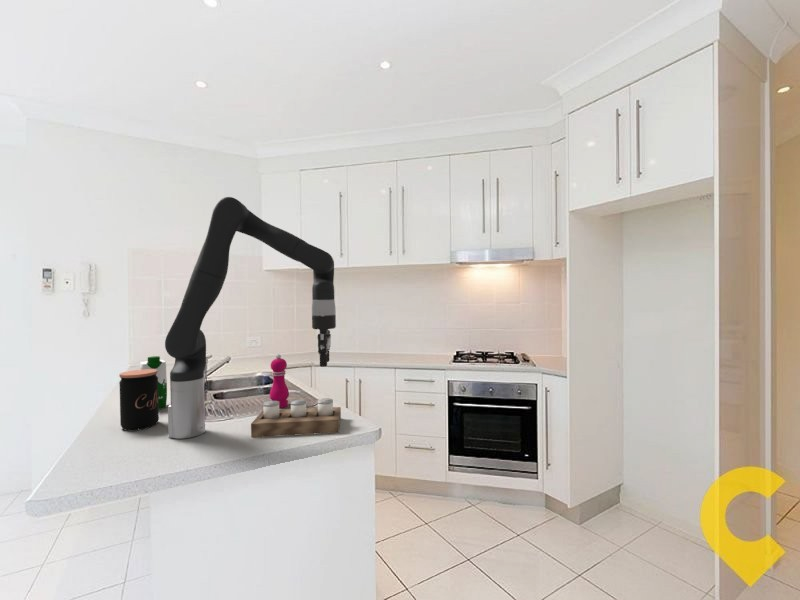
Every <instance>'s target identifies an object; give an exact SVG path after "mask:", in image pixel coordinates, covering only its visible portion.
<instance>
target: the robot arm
mask: <svg viewBox="0 0 800 600" xmlns="http://www.w3.org/2000/svg"><path fill="white" fill-rule="evenodd" d="M207 229H208V230H207V234H206V238H205V240H204V243H203V245H202V248H201V250H200V252H199V255H198V257H197V259H196V260H197V261H196V263H195V264H194V266H193V267H194V268H193V270H192V273H191V275H190V278H189V281H188V285H187V287H186V290H185V294H184V296H183V299H182V302H181V305H180V308H179V310H178V312H177V315H176V317H175V319H174V321H173V323H172V325H171V327H170V329H169V331H168V332H167V335H166V337H165V341H164V348H165V351H166V352H167V354H168V355H169V356H170V357H172V358H174V359H175V360H174V363H173V367H172V369H171V370H170V372H169V383H170V385H169V386H170V404H169V405H168V406H167V421H168V422H167V427H168V431H167V432H168V433H167V435H168V438H173V439H179V440H180V439H181V440H182V439H190V438H195V437H198V436H200V435H203V434H204V433H205V432H206V415H205V413H206V412H205V405H206V404H205V377H204V376H205V375H204V373H205V369H206V363H207V340H206V336H205V334H204V332H203V330H201V327H202V325H203V321H204V319H205V317H206V315H207V313H208V312H209V311H210V309H211V307H213V304H214V303H215V302H216V300H217V299H218V297H219V295H220V293H221V291H222V289H223V286H224V283H225V280H226V278H227V275H228V270H229V262H230V250H231V245H232V242H233V239H234V237H235V235H236V233H237V232H238V233H241V234H244V235H247V236H249V237H252V238H254V239H256V240H258V241H259V242H261V243H264V244H265V245H267V246H269V247H270V248H271V249H273V250H274V251H277V252H278V253H280V254H282V255H284V256H285V257H288V258H289V259H291V260H294V261H296V262H299V263H301V264H302V265H304V266H306V267H307V268H309V269H310V270H313V273H312V276H313V283H312V287H311V288H312V289H311V293H312V300H311V301H312V303H311V328H312V329H313V330H319V333H318V334H317V337H316V338H317V352H318V355H319V366H320V367H322V368H323V367H327V366H328V363H329V362H330V350H331V343H332V342H331V339H332V334H331V330H333V329H336V327H337V322H336V321H337V320H336V303H335V302H336V301H335V285H334V279H335V261H334V258H333V256H332V255H331V254H330V253H329V252H327V251H326V250H323V249H321V248H319V247H317V246H315V245H312V244H310V243H308V242H307V241H305V240H304V239H302V238H300V237H298V236H297V235H295V234H293V233H290V232H289V231H287V230H284V229H281V228H279V227H277V226H275V225H272V224H270V223H268V222H266V221H265V220H263V219H261V218H260V217H259V216H257V215H256V214H254V212H252V211H251V210H249V209H248V207H247V206H245V205H244V204H243V203H242V202H241V201H240V200H238V199H237V198H235V197H232V196H226V197H222V198H220V199H219V200H218V201H217V202H216V203H215V205H214V207H213V210H212V213H211V217H210V221H209V226H208V228H207Z"/></svg>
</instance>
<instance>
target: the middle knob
mask: <svg viewBox="0 0 800 600" xmlns="http://www.w3.org/2000/svg"><path fill="white" fill-rule="evenodd" d="M290 409H291V418H300V417H306V409H307V400H306V399H294V400H292V401H290Z"/></svg>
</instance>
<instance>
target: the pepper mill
mask: <svg viewBox="0 0 800 600" xmlns="http://www.w3.org/2000/svg"><path fill="white" fill-rule="evenodd" d="M287 366H288V364H287V361H286V360H285V359H284V358H282V356H281V354H280V353H279V354H276V356H275V358H274V359H273V360H272V361H271V363H270V369H271V370H272V372H271V373H272V374H271V375H272V377H273V379H272V381H273V382H272V386H271V389H270V391H269V398H270V401H279V409H281V407H283V408H286V407H288V405H289V400H287V399H288V397H290V392H289V388H288V386H287V384H286V381H285V375H286V374H287V373H286V368H287Z"/></svg>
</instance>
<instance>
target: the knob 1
mask: <svg viewBox="0 0 800 600" xmlns="http://www.w3.org/2000/svg"><path fill="white" fill-rule="evenodd" d="M262 408H263V410H262V411H264V419H279V410H280V408H279V401H272V400H269V401H267V400H266V401H265V402H263V407H262Z"/></svg>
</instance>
